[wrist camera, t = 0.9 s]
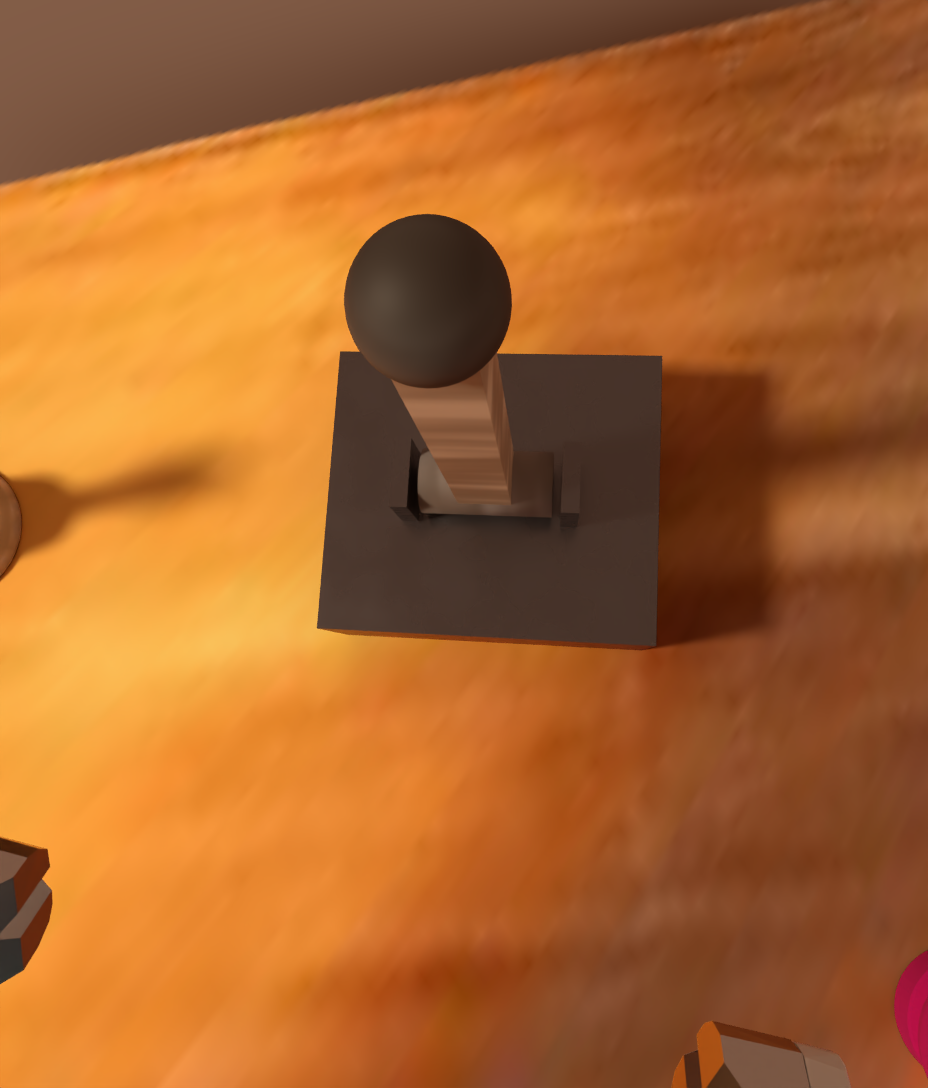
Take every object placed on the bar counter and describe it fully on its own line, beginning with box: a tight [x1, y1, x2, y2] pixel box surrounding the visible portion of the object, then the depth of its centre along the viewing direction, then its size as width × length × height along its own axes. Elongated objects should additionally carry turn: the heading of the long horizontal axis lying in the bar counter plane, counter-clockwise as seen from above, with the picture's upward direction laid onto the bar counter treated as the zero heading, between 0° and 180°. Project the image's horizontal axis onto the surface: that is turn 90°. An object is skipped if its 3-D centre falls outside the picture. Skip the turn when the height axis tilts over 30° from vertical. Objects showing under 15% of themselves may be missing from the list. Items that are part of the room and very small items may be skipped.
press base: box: [317, 352, 662, 650], centre depth 41 cm, size 14×16×9 cm
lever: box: [344, 214, 554, 518], centre depth 29 cm, size 4×6×22 cm, turn 87°
